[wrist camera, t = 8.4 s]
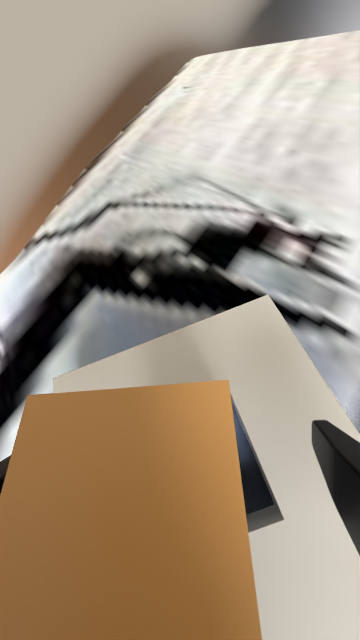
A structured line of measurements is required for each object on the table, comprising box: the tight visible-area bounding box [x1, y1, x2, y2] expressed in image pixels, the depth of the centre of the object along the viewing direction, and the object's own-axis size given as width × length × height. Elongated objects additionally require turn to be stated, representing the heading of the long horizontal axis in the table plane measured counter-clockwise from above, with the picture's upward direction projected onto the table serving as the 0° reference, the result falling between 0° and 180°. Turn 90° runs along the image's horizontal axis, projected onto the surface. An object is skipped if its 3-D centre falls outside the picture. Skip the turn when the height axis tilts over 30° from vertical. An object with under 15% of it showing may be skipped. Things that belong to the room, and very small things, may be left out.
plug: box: [0, 380, 262, 640], centre depth 9 cm, size 4×4×13 cm
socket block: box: [53, 295, 360, 640], centre depth 13 cm, size 16×16×3 cm
